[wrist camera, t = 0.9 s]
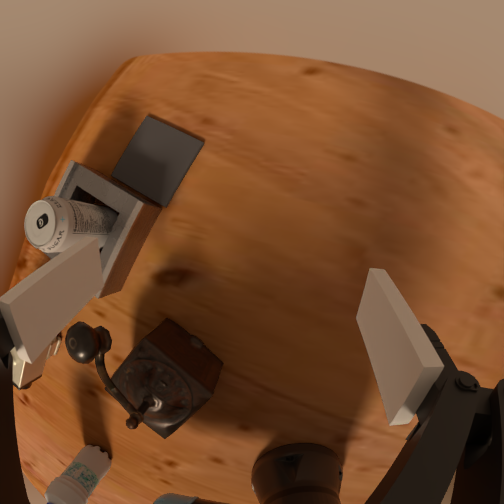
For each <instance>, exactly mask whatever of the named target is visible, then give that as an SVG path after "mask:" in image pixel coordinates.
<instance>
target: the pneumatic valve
mask: <svg viewBox="0 0 504 504" xmlns="http://www.w3.org/2000/svg"><path fill="white" fill-rule="evenodd" d="M60 343H61V337H57V336H56V337H55V338H54V339H53V340H52V341H51V343H50V344H49V345H48V346H47V347H46V348H45V349H44V350H43V352H42V353H41V354H40V355H39V356H38V357H37V358H36V360H35V361H34V362H33V363H32V364H31V363H28V362H26V361H24V360H22V359H20V358H19V356H18V354H17V351H16V349H15V347H14V348H13V349H12V350H11V351H10V352H11V354H12V357H13V385H14V386H15V387H16V388H17V389H18V390H21V389H28V388H30V386H31V385H32V382H34V381H35V380H37V379H38V378H40V377H41V376H42V373H43V369H44V365H45V362H46V360H47V359H49V358H50V357H51V356H53V355H56V354H57V352H58V349H59V346H60Z"/></svg>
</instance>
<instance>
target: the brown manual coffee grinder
mask: <svg viewBox="0 0 504 504" xmlns="http://www.w3.org/2000/svg"><path fill="white" fill-rule="evenodd" d="M111 343H112V339H111V336H110V333H109V331H108V330H107V329H105V328H104V327H102V326H99V327H96V328H94V329H93V328H92V327H90V326H89V325H87V324H86V323H84V322H77V323H76V324H74V325H73V326H71V327H70V328H69V329H68V331H67V334H66V338H65V344H66V347H67V350H68V353H69V355H70V356H71V357H72V359H74V360H75V361H77V362H79V363H82V364H88V363H90V362H92V361H93V359H94V358H95V364H96V368H97V372H98V374H99V376H100V378H101V380H102V382H103V383H104V384H105V386H106V387H105V390H106V391H107V392H108V393H109V394H110V395H111V396H113V397H114V398H115V399H116V400H117V401H118V402H119V403H120V404H121V405H122V406H123V407H124V409H125V410H126V411H127V412H128V413H129V414H130V417H129V419H127V420H126V426H127V427H128V428H129V429H136V428H137V427H138V424H140V423H141V422H143V423H145V424H146V425H147V426H148V427H150V428H151V429H152V430H154V431H155V432H156V433H157V434H159V435H160V436H161V437H163V438H164V439H166V438H167V437H168V436H170V435H171V434H172V433H174V432H175V431H176V430H177V429H178V428H179V427H180V426H182V425H183V424H184V423H185V422H186V421H187V420H188V419H189V418H190V417H191V416H193V415H194V414H195V413H196V412H197V411H198V410H199V409H200V408H201V407H202V406H203V405H204V404H205V403H206V402H207V401H208V400H209V399H210V398H211V397H212V395H213V393H214V389H215V387H216V384H217V381H218V378H219V374H220V371H221V368H222V365H223V362H222V361H221V360H219V359H218V358H217V357H216V356H215V355H214V354H213V353H212V352H211V351H210V350H209V349H208V348H206V347H205V346H204V345H203V344H204V343H203V342H202V341H201V340H199V339H198V338H197V337H195V336H194V335H190V334H189V333H188V332H187V331H185V330H184V329H183V328H182V327H180V326H179V325H178V324H176V323H174V322H173V321H171V320H170V319H168V318H166V319H165V320H164V321H163V322H162V323H161V324H160V325H159V326H158V327H157V328H156V329H155V330H153V331H152V332H151V333H150V334H148V335H147V336H146V337H145V338H143V339H142V340H141V341H140V342H139V343H138V344H137V345H136V346H135V347H134V349H133V350H132V351H131V352H130V354H129V355H128V356H127V358H126V359H125V360H124V361H123V363H122V364H121V365H120V366H119V368H118V369H117V370H116V371H115V372H114V374H113V376H112V377H111V379H110V377H109V376H108V373H107V371H106V368H105V363H104V354H105V353H106V352H108V351H109V350H110V349H111Z"/></svg>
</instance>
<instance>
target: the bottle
mask: <svg viewBox="0 0 504 504" xmlns="http://www.w3.org/2000/svg"><path fill="white" fill-rule="evenodd" d="M110 466H111V460H110V459H109V458H108V453H107V452H104V453H102V452H101V451H100V447H99V446H95V447H93V446H92V445H87V446H85V447H84V448H83V449H82V450H81V451H80V452H79V453H78V455H77V456H76V457H75V459H74V460H73V462H72V463H71V464H70V465H69V466H68V467H67V468H66V470H65V471H64V472H63V473H62V474H61V475H60V477H56V478H55V479H54V481H52V482H51V483H50V485H49V487H48V489H47V491H46V492H45V499H46V500H47V502H48V503H47V504H87V503H88V498H89V496H90V495H91V493H92V492H93V490H94V489H95V488H96V486H97V485H98V483H99V482H100V480H101V479H102V478H103V477H104V476H105V475H106V473H107V472H108V471H109V469H110Z"/></svg>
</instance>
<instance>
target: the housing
mask: <svg viewBox="0 0 504 504" xmlns="http://www.w3.org/2000/svg"><path fill="white" fill-rule="evenodd" d="M54 196H55V197H60V198H65V199H69V200H74V201H79V202H84V203H89V204H93V202H94V200H95V198H97V199H99V200H100V201H102V202H103V203H105V204H106V205H108V206H110V207H111V208H113V209H114V210H116V211H117V212H119V213H120V214H119V216H118V218H117V220H116V222H115V224H114V226H113V228H112V230H111V232H110V234H109V236H108V238H107V240H106V243H105V245H104V247H103V249H102V251H101V253H100V260H101V268H102V275H103V282H104V287H103V288H102V289H101V290H100V291H99V292H98V293H97V294H96V295H95V297H97V298H98V299H99V298H102V297H104V296H107V295H110V294H113V293H116V292H119V291H121V289H122V287H123V285H124V283H125V281H126V279H127V276H128V274H129V272H130V270H131V268H132V266H133V264H134V262H135V260H136V258H137V256H138V254H139V252H140V250H141V248H142V246H143V244H144V242H145V240H146V238H147V236H148V234H149V232H150V230H151V228H152V227H153V225H154V223H155V221H156V219H157V217H158V215H159V213H160V212H161V210H162V209H161V208H159V207H157V206H156V205H154V204H152V203H151V202H149V201H147V200H145V199H144V198H142V197H140V196H139V195H137V194H135V193H134V192H132V191H130V190H129V189H127V188H125V187H123V186H122V185H120V184H118V183H117V182H115V181H113V180H112V179H110V178H108V177H107V176H105V175H103V174H102V173H100V172H98V171H96V170H95V169H92V168H90V167H87V166H85V165H83V164H80V163H78V162H75V161H73V160H71V161H70V163H69V165H68V167H67V169H66V171H65V173H64V175H63V177H62V180H61V182H60V184H59V186H58V188H57V190H56V192H55V195H54ZM34 247H35V246H34ZM35 248H36V249H39V248H38V247H35ZM41 251H42V250H41ZM44 253H45V254H46V255H47V256H48V257H50V258H51V259H53V258H54V257H56V256H57V255H59V254H60V253H62V252H53V253H46V252H44Z"/></svg>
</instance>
